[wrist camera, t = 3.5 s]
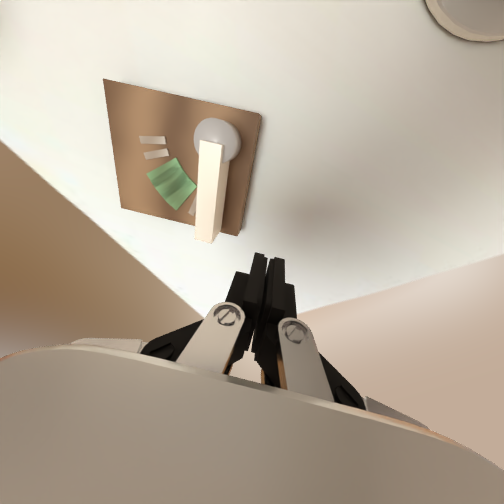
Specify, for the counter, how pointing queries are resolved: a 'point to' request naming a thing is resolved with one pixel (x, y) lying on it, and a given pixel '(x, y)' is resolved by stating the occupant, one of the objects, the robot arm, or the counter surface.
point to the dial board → (173, 152)
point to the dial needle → (213, 173)
